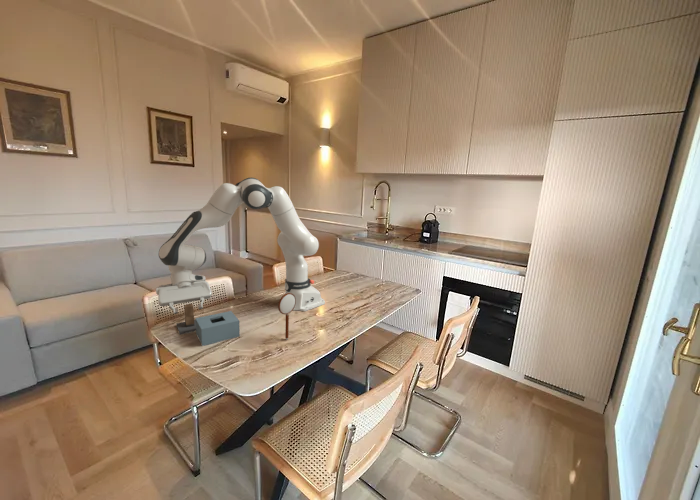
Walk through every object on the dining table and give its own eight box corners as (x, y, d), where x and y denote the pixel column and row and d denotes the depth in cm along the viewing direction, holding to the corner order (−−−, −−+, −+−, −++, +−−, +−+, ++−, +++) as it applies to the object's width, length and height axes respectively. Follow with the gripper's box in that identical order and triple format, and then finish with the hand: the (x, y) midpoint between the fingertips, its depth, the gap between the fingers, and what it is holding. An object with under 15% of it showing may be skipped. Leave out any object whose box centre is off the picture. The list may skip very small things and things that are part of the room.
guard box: (231, 325, 129) (231, 310, 128) (239, 336, 121) (239, 320, 119) (196, 334, 121) (195, 318, 119) (202, 346, 112) (201, 329, 111)
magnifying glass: (293, 335, 124) (294, 290, 120) (296, 336, 123) (297, 291, 119) (277, 342, 117) (277, 295, 113) (279, 344, 116) (280, 296, 112)
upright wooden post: (193, 322, 128) (192, 303, 126) (194, 325, 125) (193, 305, 124) (185, 324, 126) (184, 304, 124) (186, 327, 124) (185, 307, 122)
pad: (199, 320, 132) (199, 318, 132) (203, 328, 125) (203, 326, 125) (176, 325, 127) (176, 323, 126) (179, 334, 120) (179, 332, 119)
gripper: (155, 282, 121) (159, 313, 116) (208, 275, 134) (215, 303, 128) (155, 289, 126) (159, 319, 120) (206, 282, 138) (213, 309, 133)
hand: (188, 310), depth 124 cm, fingers open, 8 cm apart
